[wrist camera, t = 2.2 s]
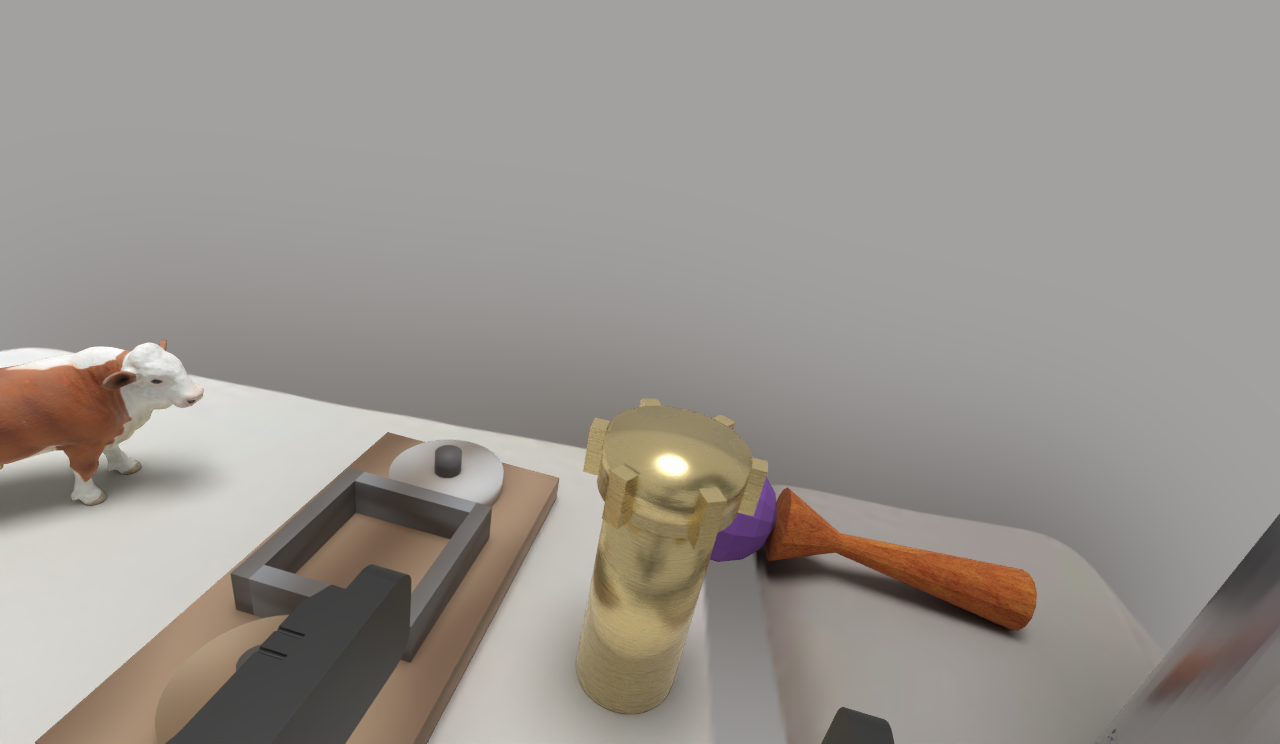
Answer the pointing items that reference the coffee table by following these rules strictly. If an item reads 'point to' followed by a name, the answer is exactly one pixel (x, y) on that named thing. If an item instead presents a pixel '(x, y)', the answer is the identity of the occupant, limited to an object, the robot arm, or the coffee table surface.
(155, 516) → the coffee table surface
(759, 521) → the kendama
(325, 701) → the robot arm
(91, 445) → the bull figurine
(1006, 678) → the coffee table surface
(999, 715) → the coffee table surface
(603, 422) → the brass pinion
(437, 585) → the board
